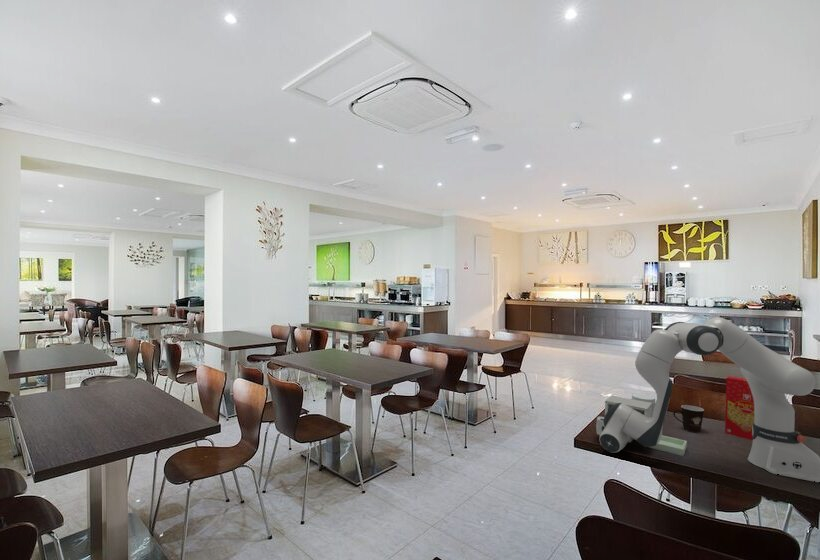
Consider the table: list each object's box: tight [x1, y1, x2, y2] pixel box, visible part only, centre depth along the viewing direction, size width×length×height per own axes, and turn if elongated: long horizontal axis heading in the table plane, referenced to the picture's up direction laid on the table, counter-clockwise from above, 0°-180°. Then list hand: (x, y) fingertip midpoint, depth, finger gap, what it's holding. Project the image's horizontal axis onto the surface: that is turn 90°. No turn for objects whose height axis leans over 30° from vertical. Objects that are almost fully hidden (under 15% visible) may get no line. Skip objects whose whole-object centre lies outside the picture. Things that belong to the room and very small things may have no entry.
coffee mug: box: [673, 404, 705, 434], centre depth 185 cm, size 12×9×10 cm
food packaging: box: [724, 375, 754, 441], centre depth 177 cm, size 15×5×25 cm, turn 41°
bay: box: [604, 395, 652, 417], centre depth 174 cm, size 16×11×15 cm
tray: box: [648, 434, 688, 457], centre depth 163 cm, size 12×12×2 cm
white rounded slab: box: [631, 393, 656, 415], centre depth 185 cm, size 10×10×15 cm
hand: (627, 422), depth 172 cm, fingers open, 5 cm apart
